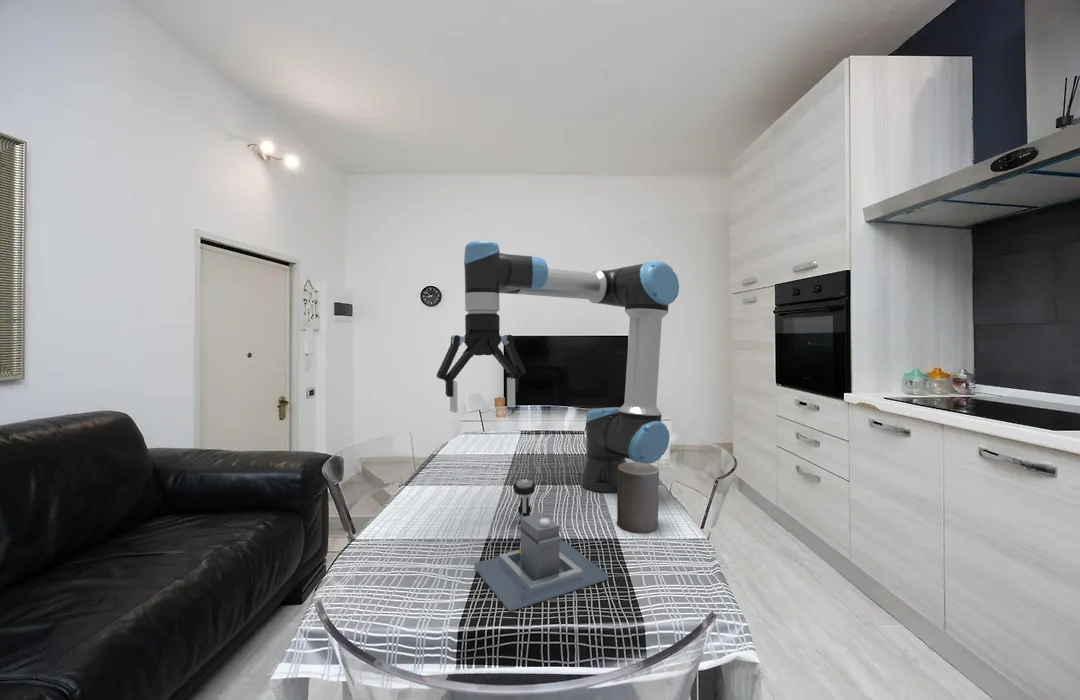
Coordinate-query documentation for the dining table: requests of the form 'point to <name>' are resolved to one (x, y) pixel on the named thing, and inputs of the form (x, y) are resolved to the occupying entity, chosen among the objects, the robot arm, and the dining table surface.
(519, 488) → the push button
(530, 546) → the servo
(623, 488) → the pillar candle
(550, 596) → the plate
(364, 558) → the dining table surface
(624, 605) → the dining table surface
